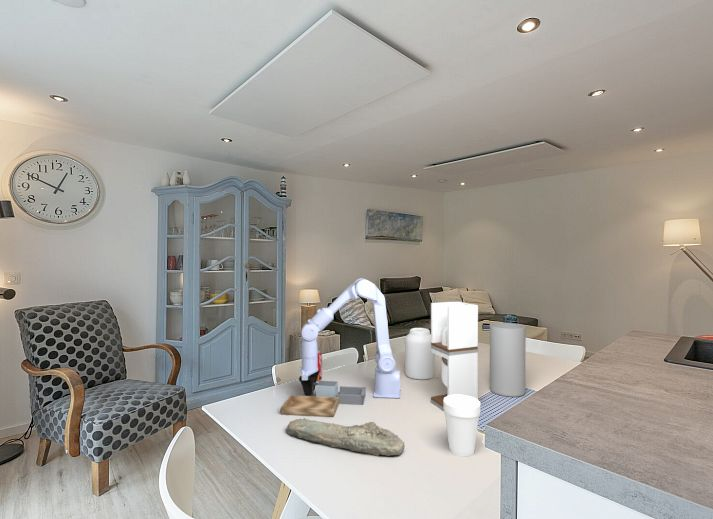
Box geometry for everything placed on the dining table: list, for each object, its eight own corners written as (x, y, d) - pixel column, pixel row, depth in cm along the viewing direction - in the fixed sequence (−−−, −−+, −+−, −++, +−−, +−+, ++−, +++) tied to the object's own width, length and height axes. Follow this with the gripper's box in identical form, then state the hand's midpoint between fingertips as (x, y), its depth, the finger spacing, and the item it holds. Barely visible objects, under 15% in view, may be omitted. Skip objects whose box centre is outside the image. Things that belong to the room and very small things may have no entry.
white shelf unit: (458, 397, 133) (458, 301, 132) (477, 409, 123) (477, 305, 122) (431, 402, 128) (431, 303, 128) (449, 414, 119) (449, 306, 118)
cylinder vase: (529, 399, 131) (529, 329, 131) (492, 396, 134) (492, 328, 134) (520, 386, 144) (521, 323, 143) (487, 384, 146) (487, 322, 146)
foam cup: (439, 441, 101) (439, 395, 101) (471, 440, 102) (471, 393, 102) (450, 461, 92) (450, 409, 92) (486, 459, 93) (486, 408, 93)
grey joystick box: (338, 397, 134) (338, 381, 134) (335, 401, 129) (335, 385, 129) (310, 395, 136) (310, 379, 135) (307, 400, 131) (307, 384, 131)
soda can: (319, 383, 148) (319, 353, 148) (302, 382, 149) (302, 353, 149) (324, 377, 155) (324, 349, 155) (308, 376, 156) (308, 348, 156)
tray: (338, 404, 127) (338, 397, 127) (333, 417, 117) (333, 409, 117) (290, 402, 129) (290, 395, 129) (281, 414, 119) (281, 407, 119)
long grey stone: (298, 427, 113) (280, 444, 104) (297, 411, 113) (278, 426, 104) (409, 443, 100) (399, 464, 91) (407, 424, 100) (398, 443, 91)
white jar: (432, 371, 163) (432, 326, 163) (436, 380, 151) (436, 332, 150) (404, 370, 164) (404, 326, 164) (405, 379, 152) (405, 331, 152)
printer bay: (365, 395, 135) (365, 387, 135) (363, 404, 127) (363, 396, 127) (340, 394, 136) (340, 386, 136) (336, 403, 128) (336, 394, 128)
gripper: (304, 350, 141) (304, 386, 141) (293, 361, 126) (293, 400, 126) (322, 351, 140) (322, 386, 140) (313, 362, 125) (313, 401, 126)
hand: (309, 393), depth 133 cm, fingers open, 5 cm apart
